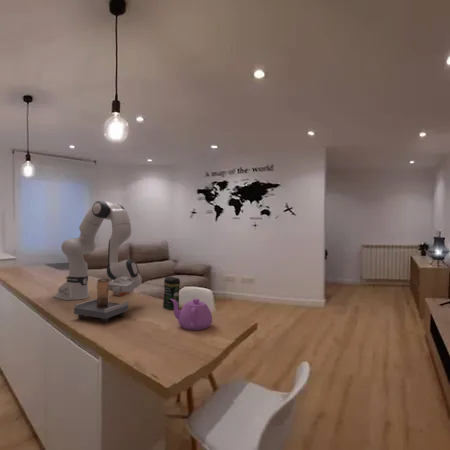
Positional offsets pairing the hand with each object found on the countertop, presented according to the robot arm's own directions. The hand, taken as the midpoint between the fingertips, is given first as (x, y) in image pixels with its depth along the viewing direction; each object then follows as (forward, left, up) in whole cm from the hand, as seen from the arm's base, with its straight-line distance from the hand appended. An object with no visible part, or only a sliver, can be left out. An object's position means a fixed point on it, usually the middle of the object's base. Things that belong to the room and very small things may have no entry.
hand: (104, 288), depth 178 cm
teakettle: (+48, +6, -15) cm, 51 cm away
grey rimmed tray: (0, -2, -15) cm, 15 cm away
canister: (0, -2, -9) cm, 9 cm away
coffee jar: (+22, +33, -15) cm, 43 cm away
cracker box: (-26, +49, -15) cm, 58 cm away
